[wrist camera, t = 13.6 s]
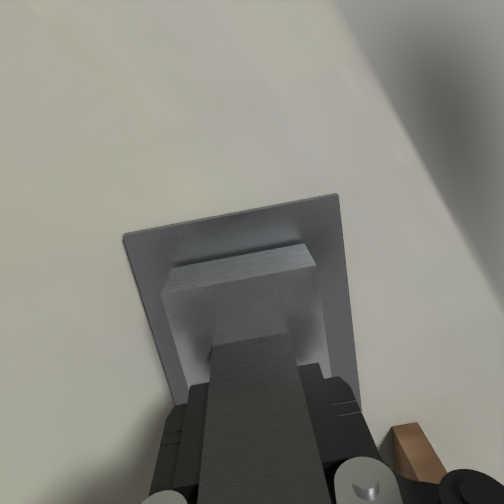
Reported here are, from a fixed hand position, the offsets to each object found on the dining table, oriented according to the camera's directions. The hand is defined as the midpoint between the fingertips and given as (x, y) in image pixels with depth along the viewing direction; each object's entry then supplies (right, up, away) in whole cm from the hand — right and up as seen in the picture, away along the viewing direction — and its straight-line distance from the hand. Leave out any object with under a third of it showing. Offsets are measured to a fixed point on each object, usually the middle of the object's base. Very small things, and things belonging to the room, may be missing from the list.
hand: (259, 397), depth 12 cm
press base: (0, +1, +4) cm, 4 cm away
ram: (0, -1, +4) cm, 4 cm away
